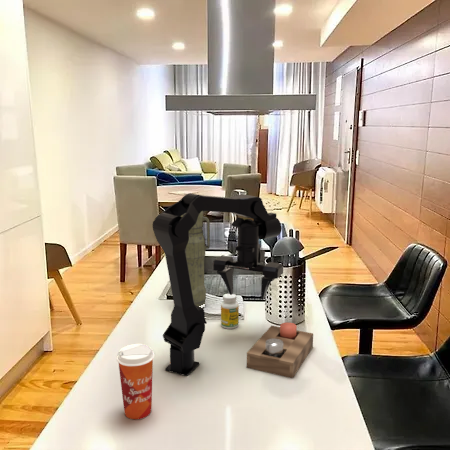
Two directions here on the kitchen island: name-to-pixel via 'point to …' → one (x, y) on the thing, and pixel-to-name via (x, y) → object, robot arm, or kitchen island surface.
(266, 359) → the press box
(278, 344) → the grey plunger
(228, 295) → the supplement bottle
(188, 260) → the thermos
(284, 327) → the pink round plug
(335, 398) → the kitchen island surface
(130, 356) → the paper cup
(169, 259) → the robot arm
